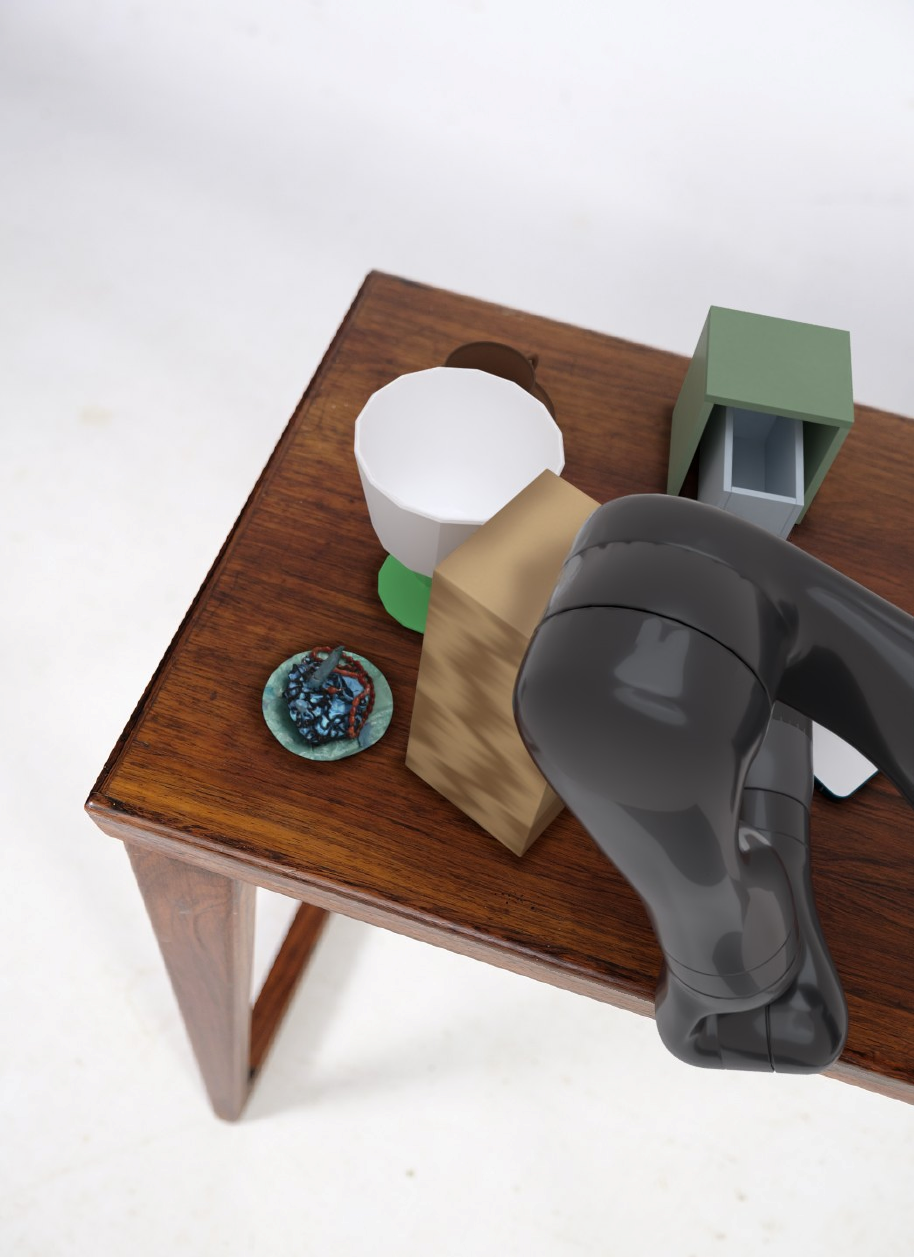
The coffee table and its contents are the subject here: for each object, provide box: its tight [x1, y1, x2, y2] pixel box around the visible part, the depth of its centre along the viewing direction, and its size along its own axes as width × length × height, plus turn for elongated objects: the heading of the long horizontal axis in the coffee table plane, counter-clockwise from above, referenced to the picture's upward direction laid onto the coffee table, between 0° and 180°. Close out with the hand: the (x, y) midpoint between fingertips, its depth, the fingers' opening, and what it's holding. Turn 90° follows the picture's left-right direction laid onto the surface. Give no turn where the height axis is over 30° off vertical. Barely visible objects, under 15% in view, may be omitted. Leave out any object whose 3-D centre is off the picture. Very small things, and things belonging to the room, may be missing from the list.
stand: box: [404, 469, 602, 858], centre depth 73 cm, size 10×10×22 cm
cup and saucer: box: [440, 340, 557, 424], centre depth 97 cm, size 12×12×6 cm
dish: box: [261, 645, 394, 761], centre depth 82 cm, size 8×7×8 cm
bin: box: [696, 404, 804, 540], centre depth 94 cm, size 14×6×8 cm, turn 171°
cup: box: [353, 366, 566, 635], centre depth 83 cm, size 14×14×16 cm
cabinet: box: [666, 304, 855, 525], centre depth 95 cm, size 10×11×12 cm
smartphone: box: [813, 721, 881, 803], centre depth 87 cm, size 8×1×16 cm
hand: (754, 556), depth 86 cm, fingers open, 8 cm apart
